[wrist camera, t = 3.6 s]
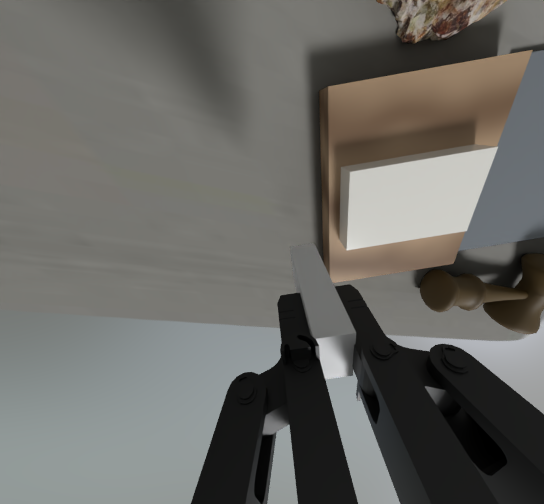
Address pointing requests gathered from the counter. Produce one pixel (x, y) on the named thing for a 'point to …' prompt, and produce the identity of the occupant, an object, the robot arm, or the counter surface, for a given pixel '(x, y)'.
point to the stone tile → (412, 195)
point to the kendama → (491, 295)
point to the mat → (515, 171)
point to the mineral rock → (437, 17)
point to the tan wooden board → (408, 144)
